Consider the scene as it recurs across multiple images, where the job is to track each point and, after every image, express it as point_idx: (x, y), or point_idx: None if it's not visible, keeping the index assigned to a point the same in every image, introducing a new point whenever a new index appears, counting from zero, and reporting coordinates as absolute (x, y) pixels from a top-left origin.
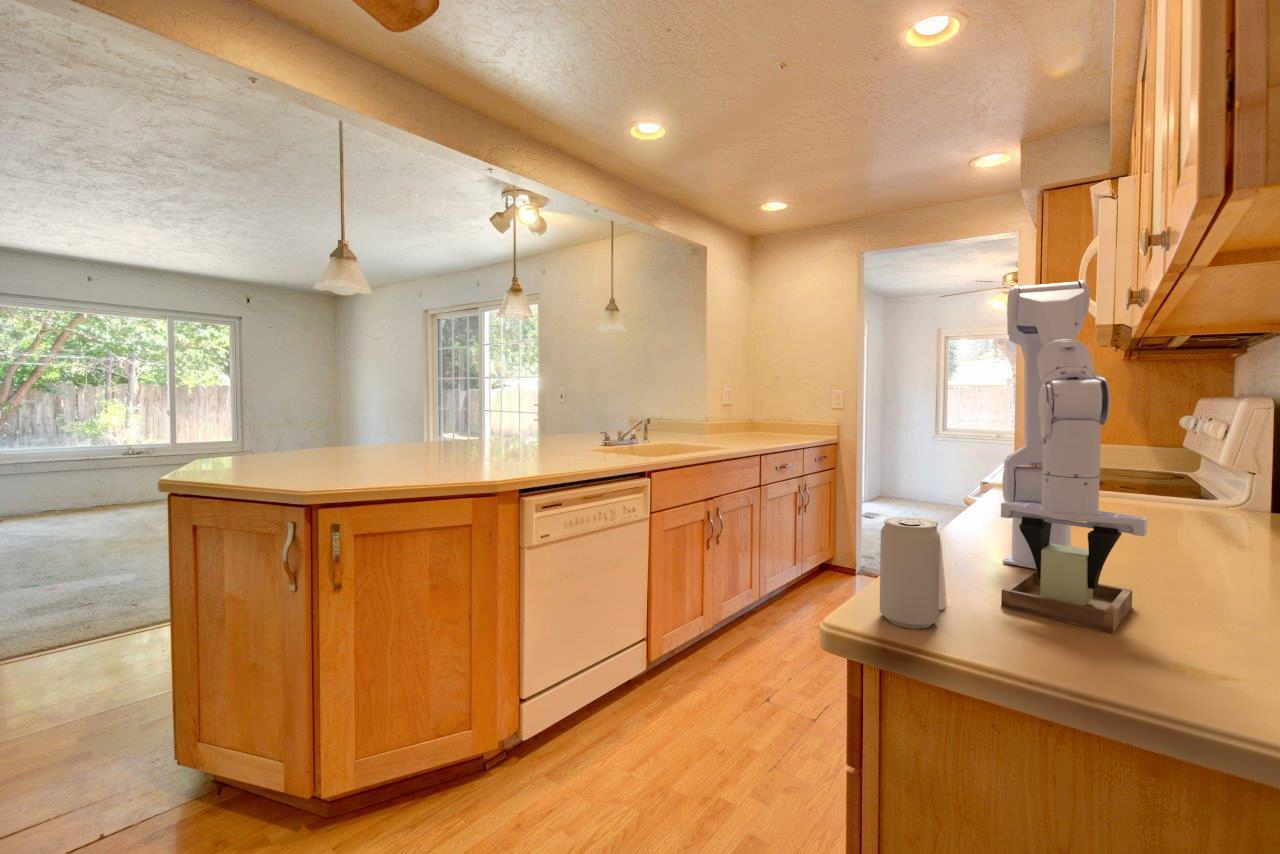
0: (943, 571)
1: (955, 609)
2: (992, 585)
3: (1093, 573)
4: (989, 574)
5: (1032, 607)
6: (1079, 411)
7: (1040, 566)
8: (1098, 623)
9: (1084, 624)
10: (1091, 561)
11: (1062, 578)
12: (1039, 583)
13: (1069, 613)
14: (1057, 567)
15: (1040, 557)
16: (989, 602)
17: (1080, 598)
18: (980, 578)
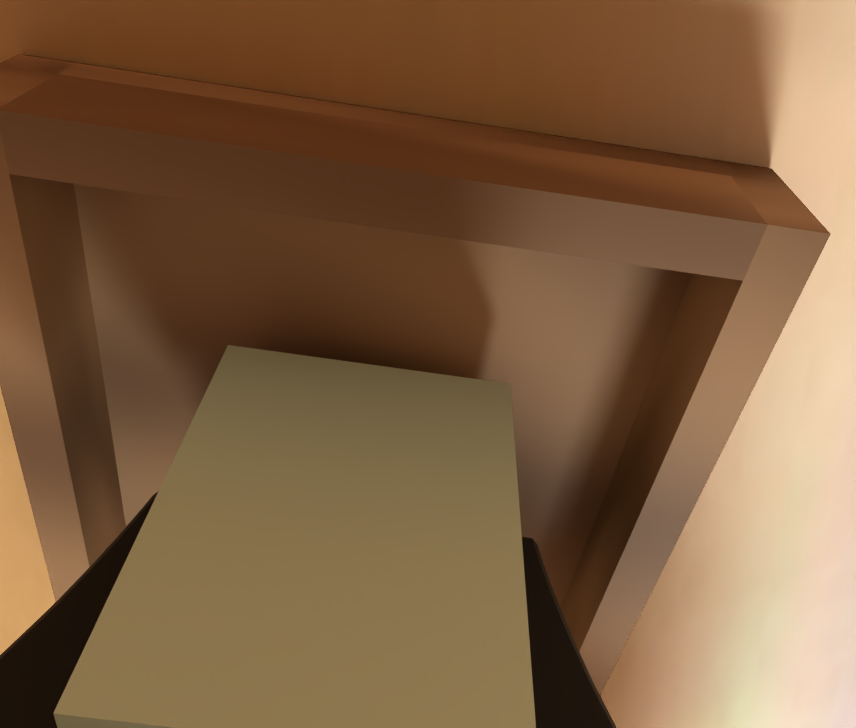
0: None
1: None
2: (770, 564)
3: (96, 585)
4: (762, 703)
5: (555, 156)
6: None
7: (528, 617)
8: (88, 83)
9: (195, 89)
10: (53, 689)
11: (345, 492)
12: None
13: (282, 121)
14: (378, 581)
15: (537, 698)
16: (847, 227)
17: (242, 381)
18: (824, 635)
